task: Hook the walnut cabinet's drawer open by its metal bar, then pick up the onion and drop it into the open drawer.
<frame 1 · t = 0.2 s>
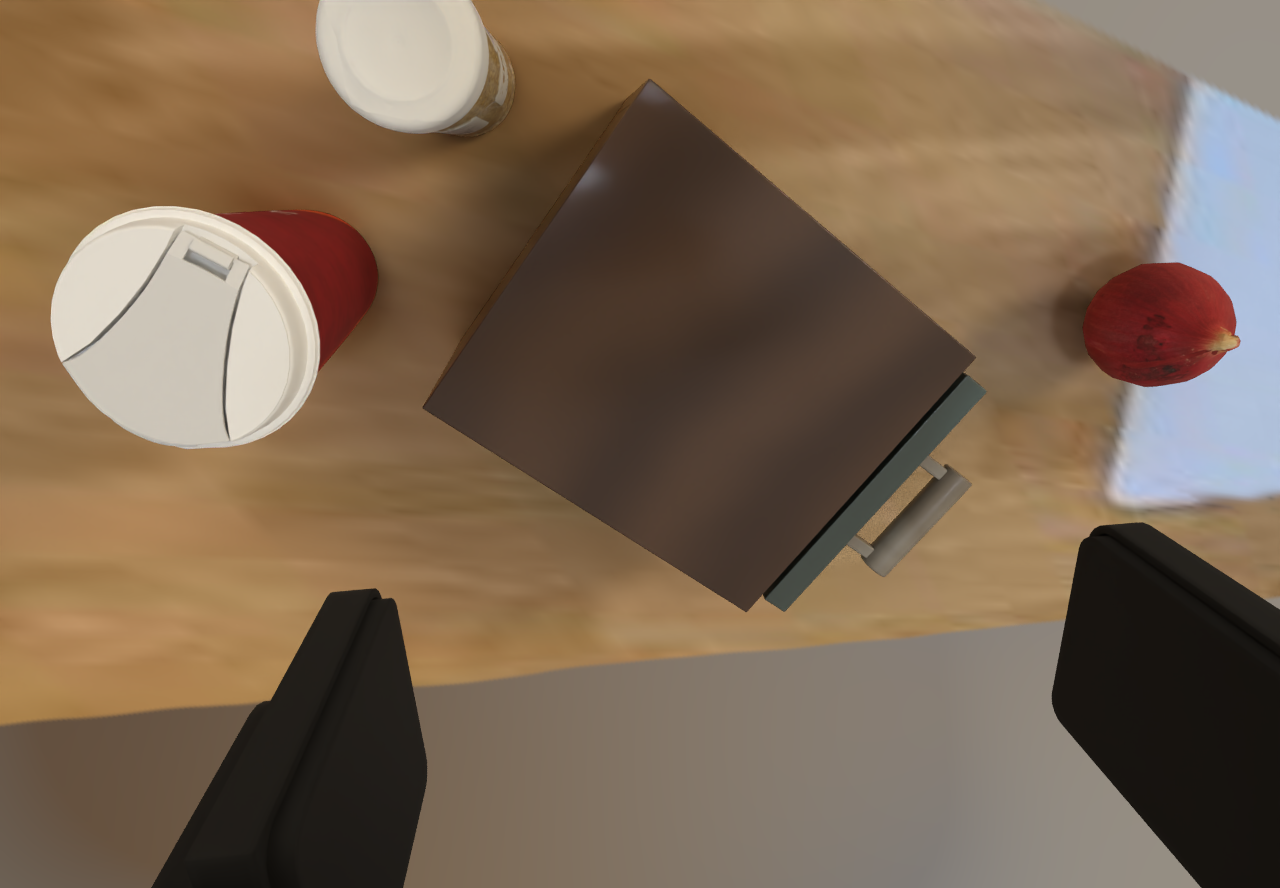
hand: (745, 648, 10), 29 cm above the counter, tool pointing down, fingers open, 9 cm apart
sprinkles bottle: (463, 82, 33), on the counter
paper cup: (318, 272, 36), on the counter
cabinet: (671, 323, 38), on the counter
onion: (1102, 309, 40), on the counter
drawer: (770, 411, 34), point 5 cm above the counter, slide at 0.8 cm
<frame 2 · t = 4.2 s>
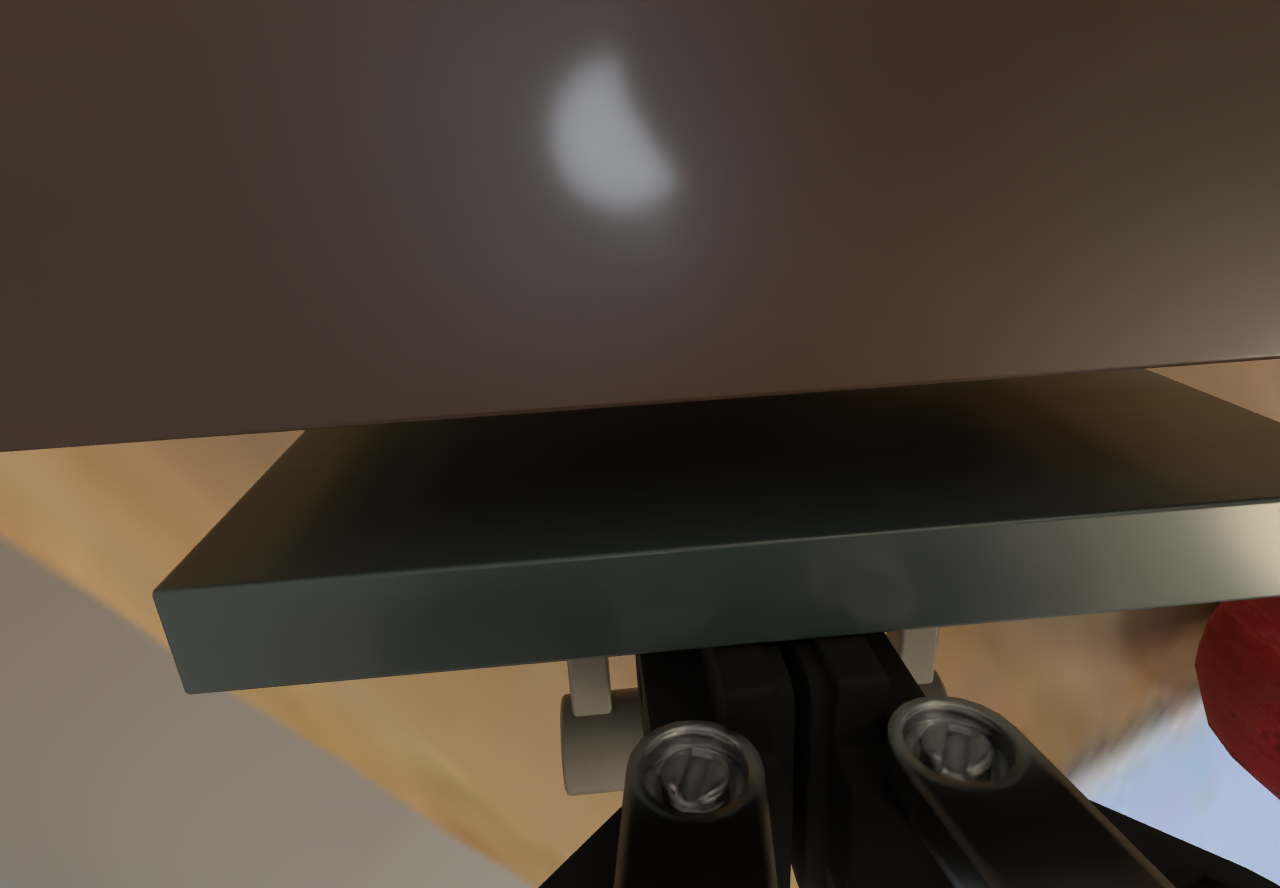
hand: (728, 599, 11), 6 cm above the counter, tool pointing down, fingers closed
onion: (1225, 596, 20), on the counter
drawer: (737, 125, 10), point 5 cm above the counter, slide at 1.8 cm
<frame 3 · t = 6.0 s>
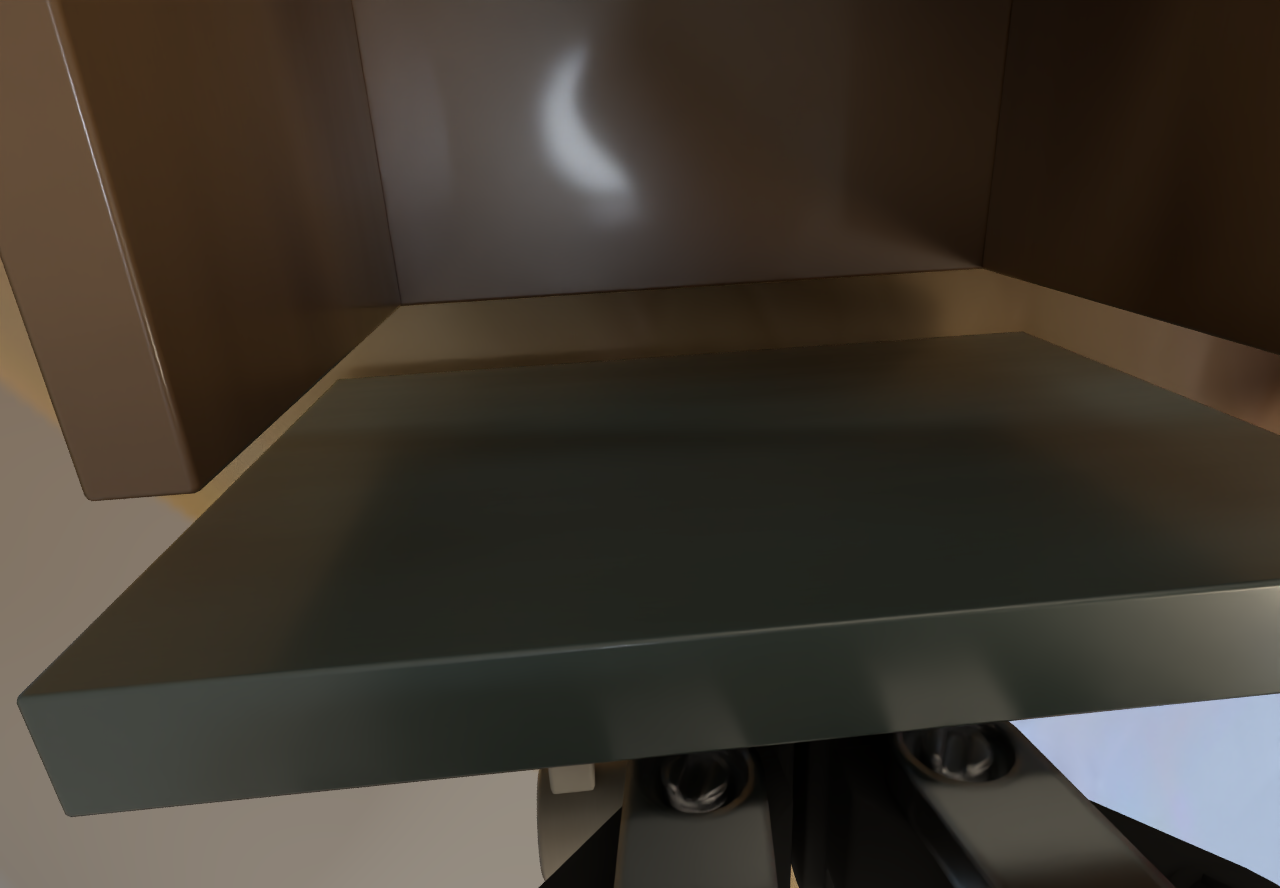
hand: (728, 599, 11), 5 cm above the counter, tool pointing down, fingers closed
drawer: (736, 125, 9), point 5 cm above the counter, slide at 8.9 cm, touching gripper
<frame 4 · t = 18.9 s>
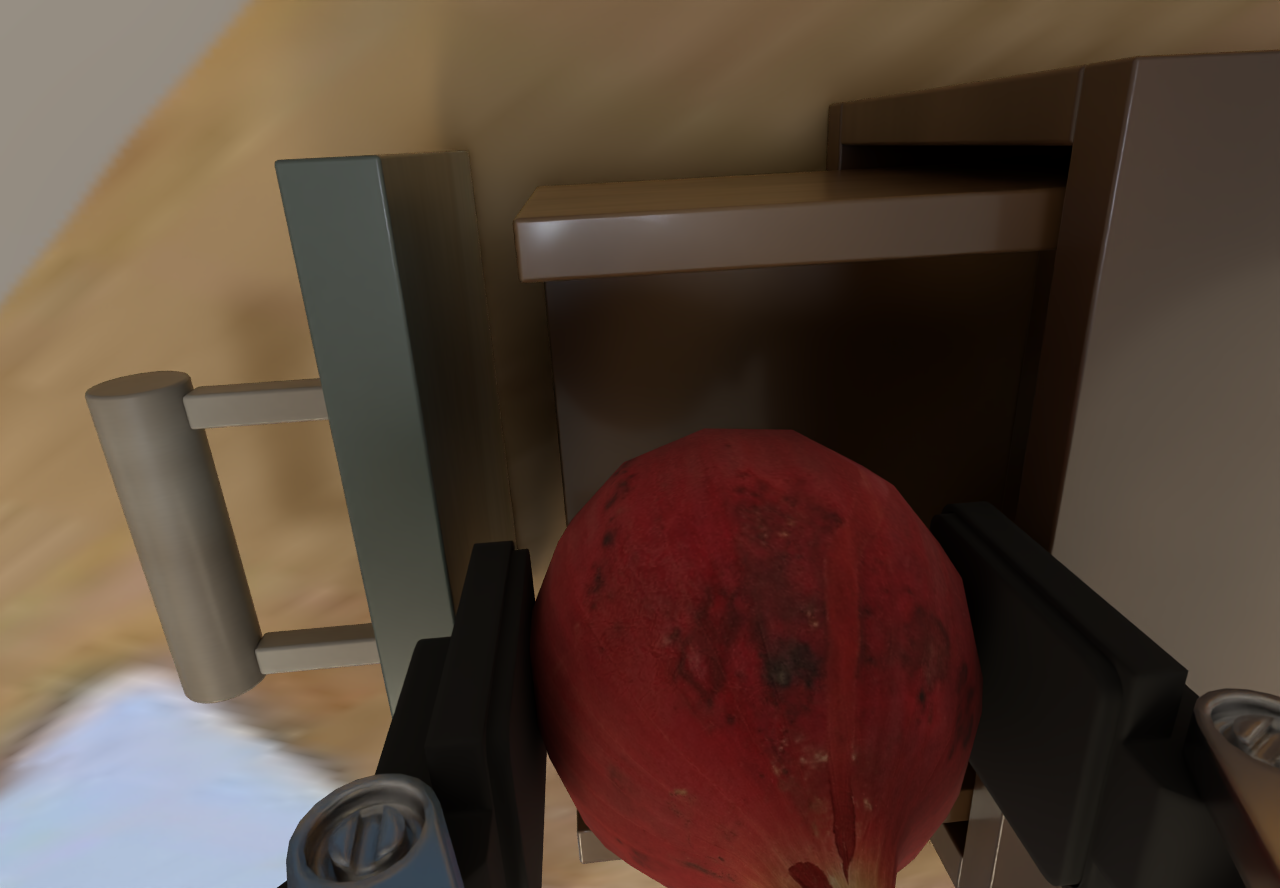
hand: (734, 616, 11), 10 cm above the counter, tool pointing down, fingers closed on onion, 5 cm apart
cabinet: (1099, 366, 21), on the counter
onion: (699, 516, 14), point 7 cm above the counter, touching gripper
drawer: (672, 479, 15), point 5 cm above the counter, slide at 8.3 cm
when the fingers open (10 cm above the counter, at t = 23.5 s): onion drops 3 cm, resting on drawer.
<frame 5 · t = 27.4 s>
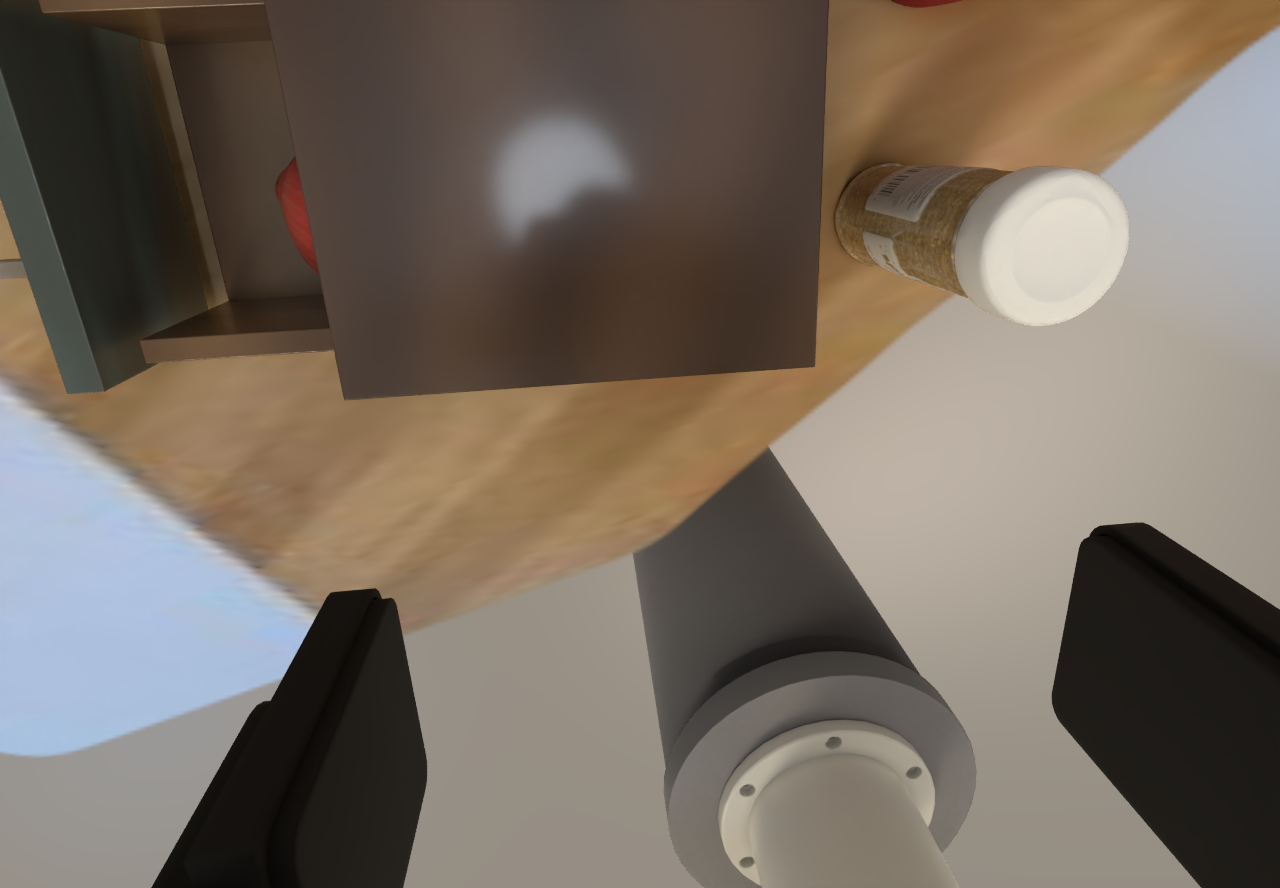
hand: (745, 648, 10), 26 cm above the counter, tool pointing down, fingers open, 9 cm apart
sprinkles bottle: (880, 213, 35), on the counter
cabinet: (568, 160, 32), on the counter
onion: (275, 179, 28), point 4 cm above the counter, touching drawer
drawer: (226, 179, 27), point 5 cm above the counter, slide at 7.9 cm, touching onion
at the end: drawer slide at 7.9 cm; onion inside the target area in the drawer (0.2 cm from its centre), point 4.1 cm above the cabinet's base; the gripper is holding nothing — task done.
